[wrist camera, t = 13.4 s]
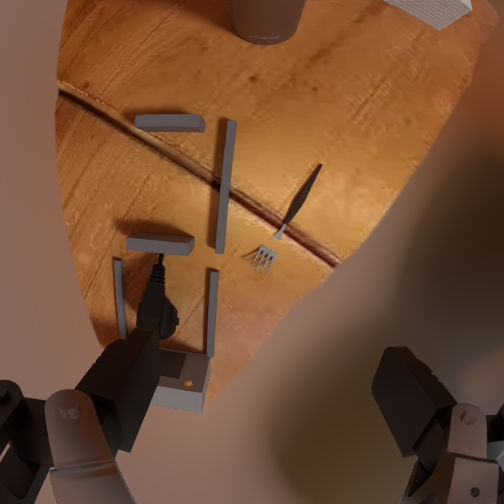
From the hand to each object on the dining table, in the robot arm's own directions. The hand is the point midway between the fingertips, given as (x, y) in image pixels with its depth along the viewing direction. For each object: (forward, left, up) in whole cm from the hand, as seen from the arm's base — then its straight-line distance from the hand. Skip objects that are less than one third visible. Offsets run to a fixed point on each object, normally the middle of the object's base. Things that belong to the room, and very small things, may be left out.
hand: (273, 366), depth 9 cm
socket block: (+15, -12, -28) cm, 34 cm away
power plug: (+10, -12, -28) cm, 32 cm away
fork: (-2, +4, -29) cm, 29 cm away
